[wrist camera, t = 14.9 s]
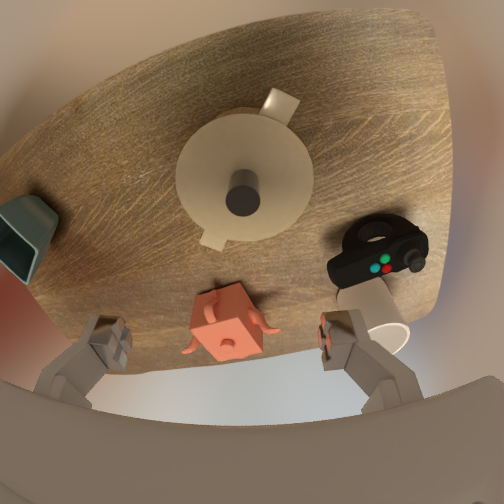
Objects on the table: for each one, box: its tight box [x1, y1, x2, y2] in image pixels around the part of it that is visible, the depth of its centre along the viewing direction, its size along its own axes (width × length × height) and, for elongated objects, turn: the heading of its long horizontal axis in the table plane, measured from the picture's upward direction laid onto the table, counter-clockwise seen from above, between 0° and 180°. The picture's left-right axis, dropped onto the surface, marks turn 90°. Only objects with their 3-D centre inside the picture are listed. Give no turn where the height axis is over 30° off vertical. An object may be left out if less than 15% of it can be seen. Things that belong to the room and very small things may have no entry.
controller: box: [327, 214, 429, 289], centre depth 31 cm, size 4×12×10 cm, turn 115°
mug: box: [336, 277, 410, 355], centre depth 38 cm, size 11×9×10 cm
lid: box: [175, 113, 314, 242], centre depth 21 cm, size 11×11×5 cm
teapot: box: [181, 283, 280, 362], centre depth 39 cm, size 12×15×8 cm
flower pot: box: [0, 195, 59, 285], centre depth 30 cm, size 9×9×9 cm
